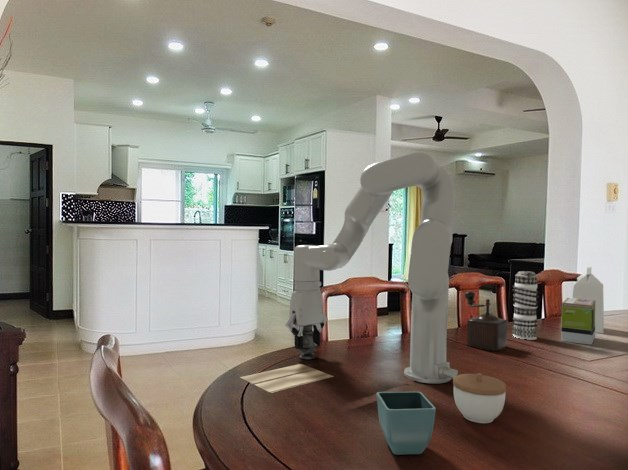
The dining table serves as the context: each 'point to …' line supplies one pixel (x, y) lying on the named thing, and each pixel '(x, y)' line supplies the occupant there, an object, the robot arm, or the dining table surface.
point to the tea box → (578, 321)
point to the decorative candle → (525, 305)
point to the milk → (591, 296)
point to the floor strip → (276, 373)
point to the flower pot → (406, 421)
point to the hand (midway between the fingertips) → (307, 346)
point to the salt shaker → (308, 343)
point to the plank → (293, 381)
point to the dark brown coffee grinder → (485, 328)
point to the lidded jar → (479, 397)
